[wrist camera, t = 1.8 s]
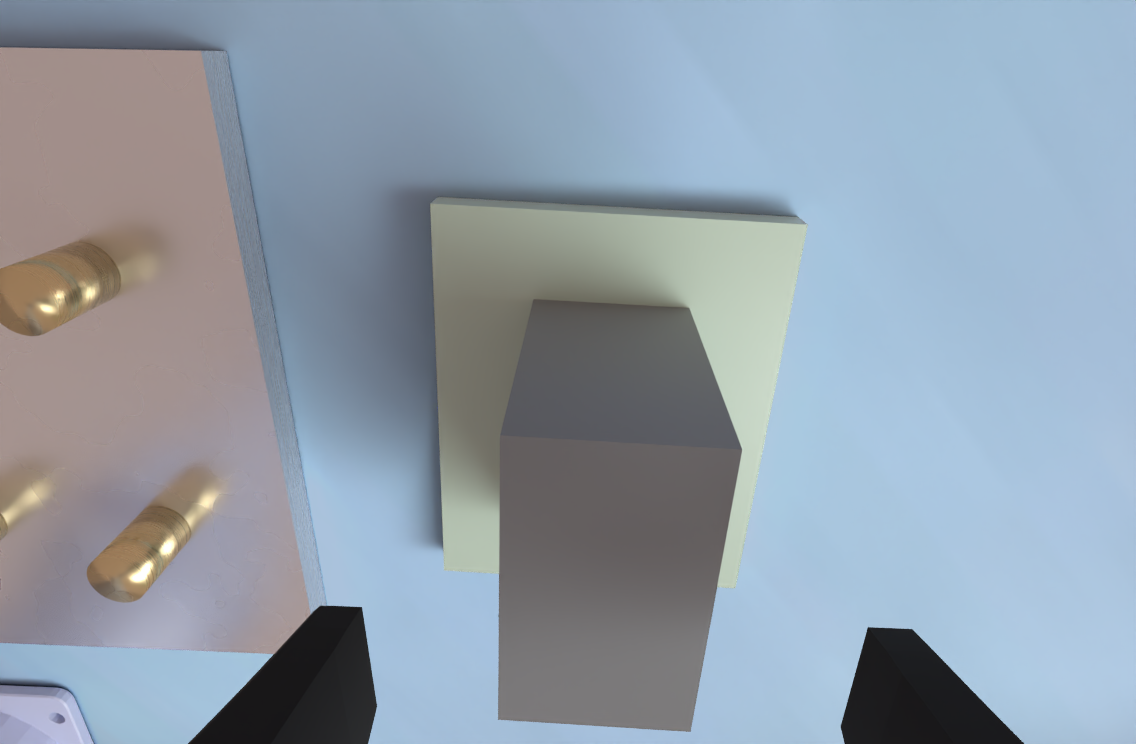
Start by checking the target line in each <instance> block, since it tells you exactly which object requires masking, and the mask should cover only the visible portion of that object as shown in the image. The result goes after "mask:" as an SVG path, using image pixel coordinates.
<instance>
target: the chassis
mask: <svg viewBox="0 0 1136 744" xmlns="http://www.w3.org/2000/svg"><path fill="white" fill-rule="evenodd" d="M319 606H327V605H326V600H325V594H324V589H323V583H322V577H321V572H320V566H319V561H318V555H317V550H316V544H315V539H314V533H313V528H312V522H311V517H310V511H309V505H308V500H307V494H306V489H305V483H304V478H303V472H302V467H301V461H300V456H299V450H298V445H297V439H296V433H295V428H294V422H293V417H292V411H291V406H290V400H289V395H288V389H287V384H286V378H285V373H284V367H283V361H282V356H281V350H280V345H279V339H278V334H277V328H276V323H275V317H274V312H273V306H272V301H271V295H270V289H269V284H268V278H267V273H266V267H265V262H264V256H263V251H262V245H261V240H260V234H259V229H258V223H257V217H256V212H255V206H254V201H253V195H252V190H251V184H250V179H249V173H248V168H247V162H246V157H245V151H244V145H243V140H242V134H241V129H240V123H239V118H238V112H237V107H236V101H235V96H234V90H233V85H232V79H231V73H230V68H229V62H228V57H227V51H199V50H139V49H80V48H21V47H0V643H19V644H44V645H68V646H93V647H118V648H143V649H168V650H192V651H217V652H242V653H267V654H275V653H276V652H277V650H278V649H279V648H280V647H281V646H282V645H283V644H284V643H285V642H286V641H287V640H288V638H289V637H290V636H291V635H292V634H293V633H294V632H295V631H296V630H297V629H298V628H299V626H300V625H301V624H302V623H303V622H304V621H305V620H306V619H307V618H308V617H309V616H310V615H311V613H312V612H313V611H314V610H316V609H317V608H318V607H319Z"/></svg>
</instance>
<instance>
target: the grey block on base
mask: <svg viewBox="0 0 1136 744" xmlns="http://www.w3.org/2000/svg"><path fill="white" fill-rule="evenodd" d="M430 213H431V239H432V265H433V291H434V317H435V343H436V369H437V395H438V421H439V447H440V473H441V499H442V525H443V551H444V570H446V571H463V572H479V573H495V574H499V687H498V720H514V721H529V722H545V723H561V724H576V725H592V726H608V727H624V728H639V729H655V730H671V731H686V732H690V731H691V726H692V720H693V715H694V709H695V704H696V698H697V693H698V688H699V682H700V677H701V671H702V666H703V660H704V655H705V650H706V644H707V639H708V633H709V628H710V622H711V617H712V612H713V606H714V601H715V595H716V590H717V587H723V588H735V587H736V582H737V577H738V572H739V567H740V562H741V557H742V552H743V547H744V542H745V537H746V532H747V527H748V522H749V517H750V512H751V507H752V502H753V497H754V492H755V487H756V482H757V477H758V472H759V467H760V462H761V457H762V452H763V447H764V442H765V437H766V431H767V426H768V421H769V416H770V411H771V406H772V401H773V396H774V391H775V386H776V381H777V376H778V371H779V366H780V361H781V356H782V351H783V346H784V341H785V336H786V331H787V326H788V321H789V316H790V311H791V306H792V301H793V296H794V291H795V286H796V281H797V276H798V271H799V266H800V261H801V256H802V251H803V246H804V241H805V236H806V231H807V226H808V224H806V223H805V222H804V221H803V220H801V219H800V218H799V217H792V216H774V215H756V214H738V213H720V212H702V211H684V210H666V209H648V208H630V207H612V206H594V205H576V204H559V203H541V202H523V201H505V200H487V199H469V198H451V197H437V198H436V199H435V200H434V201H433V202H431V203H430Z"/></svg>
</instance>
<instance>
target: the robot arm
mask: <svg viewBox="0 0 1136 744" xmlns="http://www.w3.org/2000/svg"><path fill="white" fill-rule="evenodd" d="M376 708H377V704H376V697H375V690H374V684H373V677H372V671H371V664H370V658H369V651H368V644H367V638H366V631H365V625H364V618H363V612H362V607H344V606H319V607H318V608H317V609H316V610H314V611H313V612H312V613H311V615H310V616H309V617H308V618H307V619H306V620H305V621H304V622H303V623H302V624H301V625H300V626H299V628H298V629H297V630H296V631H295V632H294V633H293V634H292V635H291V636H290V637H289V638H288V640H287V641H286V642H285V643H284V644H283V645H282V646H281V647H280V648H279V649H278V650H277V652H276V653H275V654H274V655H273V656H272V657H271V658H270V659H269V660H268V661H267V662H266V663H265V665H264V666H263V667H262V668H261V669H260V670H259V671H258V672H257V673H256V674H255V675H254V676H253V677H252V678H251V679H250V681H249V682H248V683H247V684H246V685H245V686H244V687H243V688H242V689H241V690H240V691H239V692H238V693H237V694H236V695H235V696H234V697H233V698H232V699H231V700H230V701H229V702H228V703H227V704H226V705H225V706H224V708H223V709H222V710H221V711H220V712H219V713H218V714H217V715H216V716H215V717H214V718H213V719H212V720H211V721H210V722H209V723H208V724H207V725H206V726H205V727H204V728H203V729H202V730H201V731H200V732H199V733H198V734H197V735H196V736H195V737H194V738H193V739H192V740H191V741H190V742H189V743H188V744H368V741H369V737H370V733H371V729H372V725H373V720H374V716H375V712H376ZM841 730H842V734H843V738H844V742H845V744H1024V743H1023V742H1022V741H1021V740H1020V739H1019V738H1018V737H1017V736H1016V735H1015V734H1014V733H1013V732H1012V731H1011V730H1010V729H1009V728H1008V727H1007V726H1006V725H1005V724H1004V723H1003V722H1002V721H1001V720H1000V719H999V718H998V717H997V716H996V715H995V714H994V713H993V712H992V711H991V710H990V709H989V708H988V707H987V706H986V705H985V704H984V702H983V701H982V700H981V699H980V698H979V697H978V696H977V695H976V694H975V693H974V692H973V691H972V690H971V689H970V688H969V687H968V686H967V685H966V684H965V683H964V682H963V681H962V680H961V679H960V678H959V677H958V676H957V675H956V674H955V673H954V672H953V671H952V670H951V668H950V667H949V666H948V665H947V664H946V663H945V662H944V661H943V660H942V659H941V658H940V657H939V656H938V655H937V654H936V653H935V652H934V651H933V650H932V649H931V648H930V647H929V646H928V645H927V644H926V643H925V642H924V641H923V640H922V639H921V638H920V637H919V636H918V635H917V634H916V633H915V632H914V631H913V630H912V629H895V628H870V627H868V629H867V633H866V637H865V640H864V644H863V648H862V651H861V655H860V658H859V662H858V666H857V669H856V673H855V677H854V680H853V684H852V688H851V691H850V695H849V698H848V702H847V706H846V709H845V713H844V717H843V720H842V724H841ZM0 744H94V743H93V741H92V738H91V736H90V734H89V731H88V729H87V727H86V724H85V722H84V719H83V717H82V715H81V712H80V710H79V708H78V705H77V703H76V701H75V698H74V697H73V695H72V694H71V693H70V692H69V691H67V690H65V689H62V688H57V687H33V686H9V685H0Z"/></svg>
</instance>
